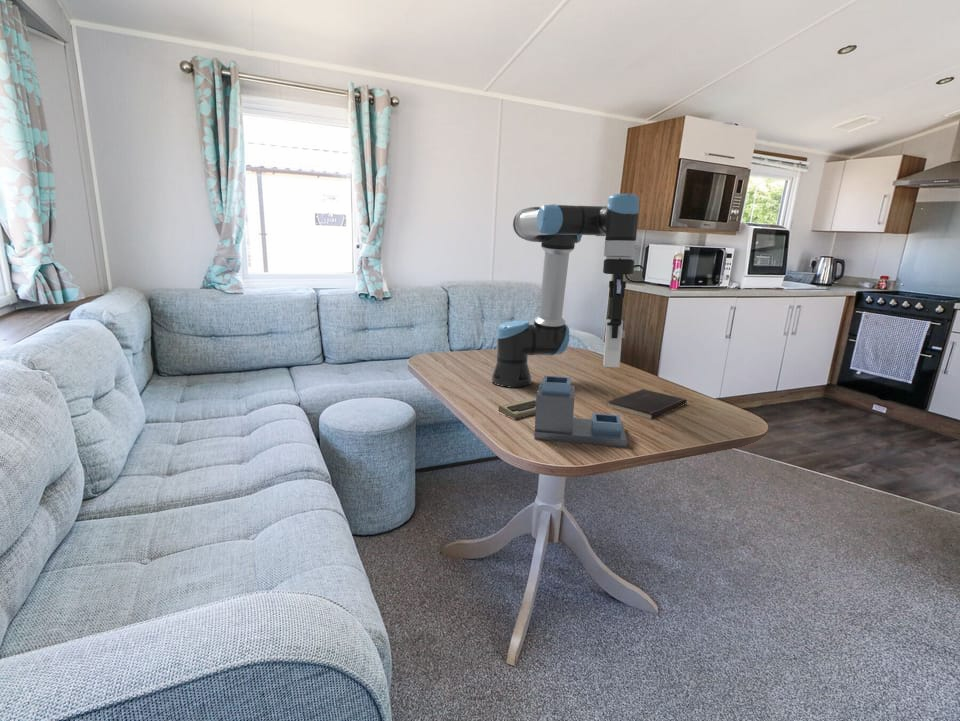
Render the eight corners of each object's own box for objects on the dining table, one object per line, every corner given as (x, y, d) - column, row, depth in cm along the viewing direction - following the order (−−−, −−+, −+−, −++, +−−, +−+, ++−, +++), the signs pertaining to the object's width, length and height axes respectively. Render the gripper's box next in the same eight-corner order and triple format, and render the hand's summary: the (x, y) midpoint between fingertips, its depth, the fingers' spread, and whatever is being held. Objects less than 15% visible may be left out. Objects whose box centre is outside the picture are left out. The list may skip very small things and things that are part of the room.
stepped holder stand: (534, 438, 131) (536, 385, 128) (538, 421, 144) (540, 372, 141) (626, 447, 126) (631, 392, 123) (621, 428, 140) (626, 378, 136)
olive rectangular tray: (515, 421, 145) (515, 410, 145) (497, 414, 152) (498, 403, 151) (551, 411, 155) (552, 401, 154) (534, 405, 161) (534, 395, 160)
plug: (603, 366, 128) (607, 321, 125) (603, 363, 132) (606, 319, 129) (622, 367, 127) (626, 322, 124) (621, 364, 131) (625, 320, 128)
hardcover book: (606, 408, 159) (607, 401, 159) (642, 395, 174) (643, 389, 174) (651, 421, 148) (652, 414, 147) (686, 405, 163) (687, 399, 162)
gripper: (638, 258, 114) (630, 355, 119) (631, 258, 131) (624, 343, 136) (605, 258, 116) (598, 354, 121) (602, 257, 132) (597, 342, 137)
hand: (612, 348), depth 128 cm, fingers closed on plug, 4 cm apart
